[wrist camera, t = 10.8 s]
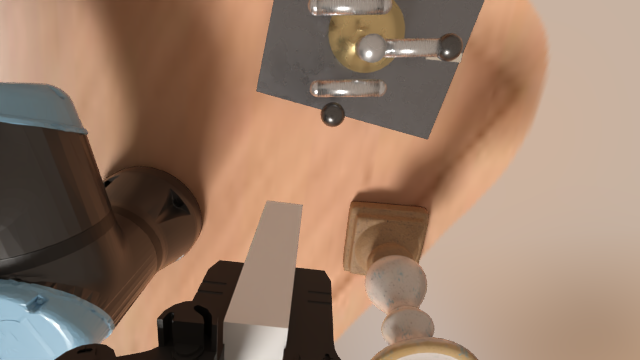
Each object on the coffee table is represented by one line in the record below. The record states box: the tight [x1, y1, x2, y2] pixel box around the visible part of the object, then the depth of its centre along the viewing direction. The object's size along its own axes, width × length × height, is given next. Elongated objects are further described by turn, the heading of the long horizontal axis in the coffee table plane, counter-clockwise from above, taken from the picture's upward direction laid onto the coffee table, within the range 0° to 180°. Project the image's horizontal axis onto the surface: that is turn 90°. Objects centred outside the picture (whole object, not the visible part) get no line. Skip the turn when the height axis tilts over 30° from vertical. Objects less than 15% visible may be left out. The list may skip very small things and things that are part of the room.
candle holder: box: [343, 201, 478, 360], centre depth 38 cm, size 11×11×24 cm
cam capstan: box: [308, 0, 463, 127], centre depth 33 cm, size 14×14×9 cm
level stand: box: [256, 0, 484, 139], centre depth 38 cm, size 22×16×4 cm
